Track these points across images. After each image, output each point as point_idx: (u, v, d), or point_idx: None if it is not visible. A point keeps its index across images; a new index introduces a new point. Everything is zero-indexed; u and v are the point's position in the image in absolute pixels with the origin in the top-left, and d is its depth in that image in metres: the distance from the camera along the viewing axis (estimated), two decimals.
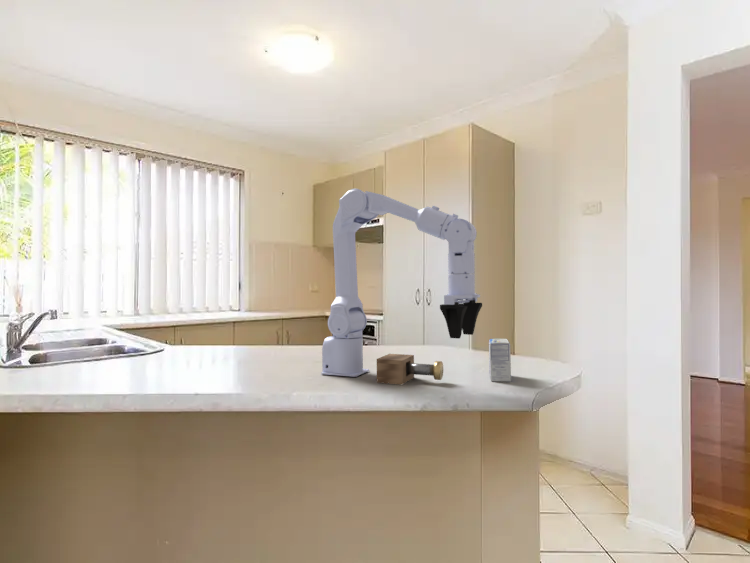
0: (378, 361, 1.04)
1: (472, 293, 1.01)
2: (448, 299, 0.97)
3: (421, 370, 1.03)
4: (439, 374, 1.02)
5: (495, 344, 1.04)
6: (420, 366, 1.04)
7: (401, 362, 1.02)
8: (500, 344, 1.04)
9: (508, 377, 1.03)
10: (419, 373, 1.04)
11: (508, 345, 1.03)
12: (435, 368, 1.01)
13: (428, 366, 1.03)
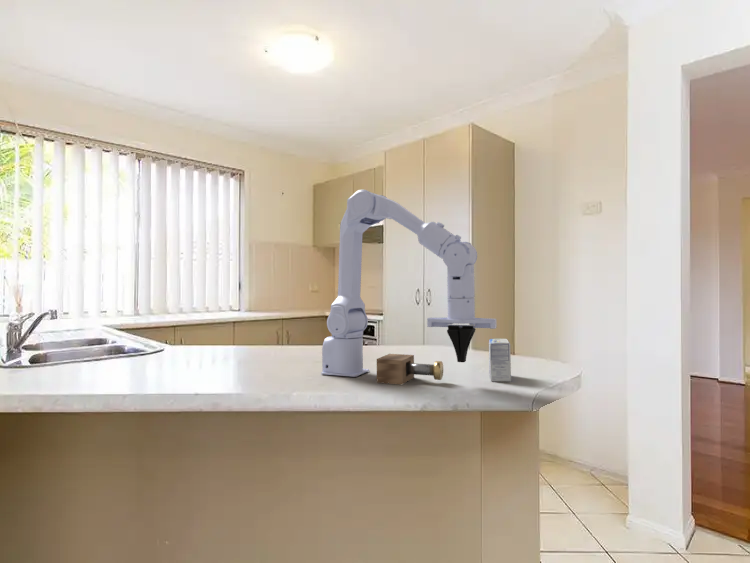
0: (378, 361, 1.04)
1: (454, 318, 0.99)
2: None
3: (421, 370, 1.03)
4: (439, 374, 1.02)
5: (495, 344, 1.04)
6: (420, 366, 1.04)
7: (401, 362, 1.02)
8: (500, 344, 1.04)
9: (508, 377, 1.03)
10: (419, 373, 1.04)
11: (508, 345, 1.03)
12: (435, 368, 1.01)
13: (428, 366, 1.03)
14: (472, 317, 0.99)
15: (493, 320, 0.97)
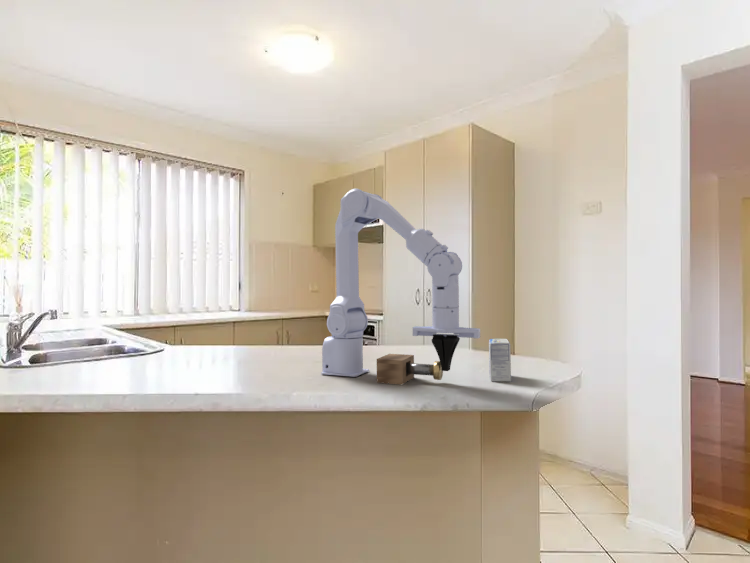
0: (378, 361, 1.04)
1: (439, 327, 1.00)
2: None
3: (421, 370, 1.03)
4: (439, 374, 1.02)
5: (495, 344, 1.04)
6: (420, 366, 1.04)
7: (401, 362, 1.02)
8: (500, 344, 1.04)
9: (508, 377, 1.03)
10: (418, 373, 1.04)
11: (508, 345, 1.03)
12: (435, 368, 1.01)
13: (428, 366, 1.03)
14: (456, 327, 1.00)
15: (476, 330, 0.99)
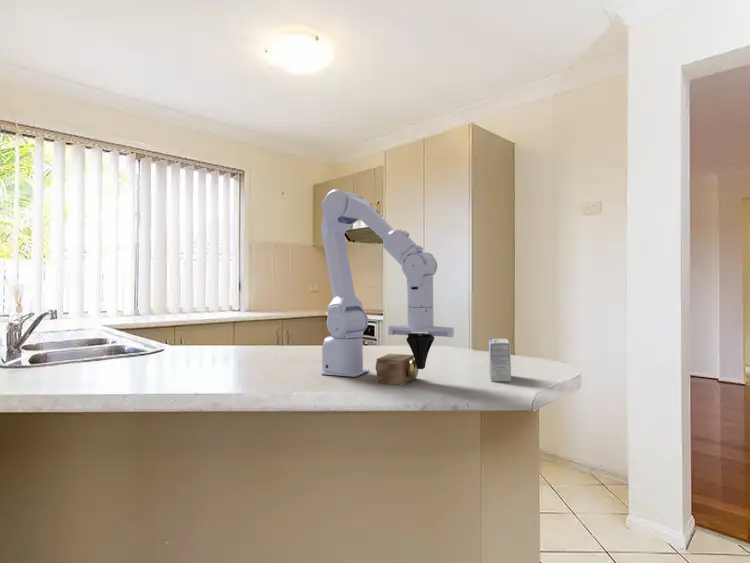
0: (378, 361, 1.04)
1: (413, 326, 1.02)
2: None
3: None
4: (413, 372, 1.04)
5: (495, 344, 1.04)
6: None
7: (401, 362, 1.02)
8: (500, 344, 1.04)
9: (508, 377, 1.03)
10: None
11: (508, 345, 1.03)
12: (410, 366, 1.04)
13: None
14: (430, 326, 1.02)
15: (450, 329, 1.01)
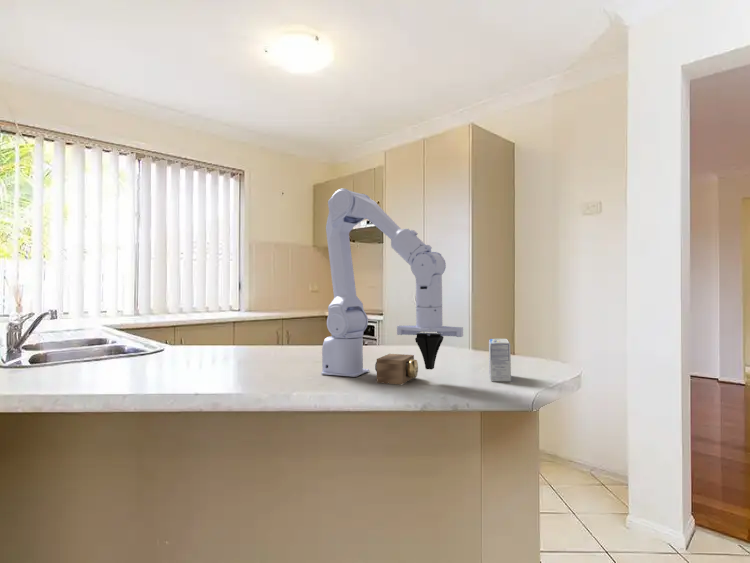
0: (378, 361, 1.04)
1: (422, 326, 1.01)
2: None
3: None
4: (413, 372, 1.04)
5: (495, 344, 1.04)
6: None
7: (401, 362, 1.02)
8: (500, 344, 1.04)
9: (508, 377, 1.03)
10: None
11: (508, 345, 1.03)
12: (409, 366, 1.04)
13: None
14: (439, 325, 1.02)
15: (459, 328, 1.00)
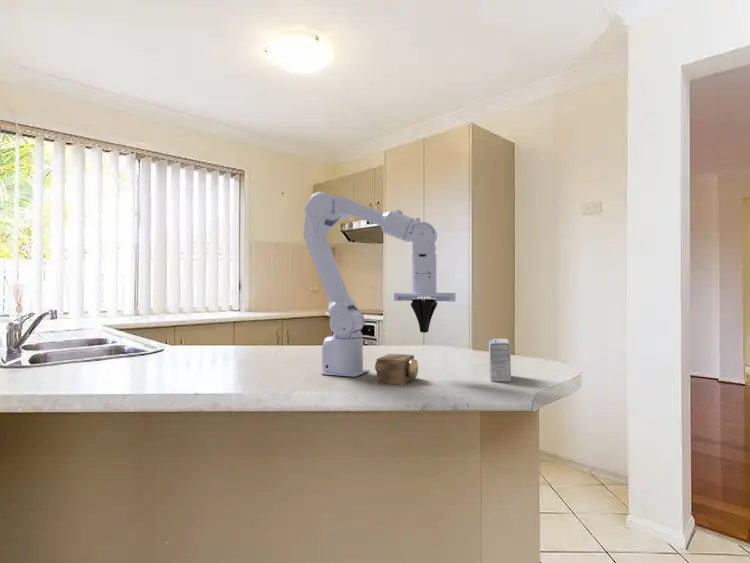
0: (378, 361, 1.04)
1: (417, 292, 1.08)
2: None
3: None
4: (413, 372, 1.04)
5: (495, 344, 1.04)
6: None
7: (401, 362, 1.02)
8: (500, 344, 1.04)
9: (508, 377, 1.03)
10: None
11: (508, 345, 1.03)
12: (409, 366, 1.04)
13: None
14: (433, 291, 1.09)
15: (452, 294, 1.07)
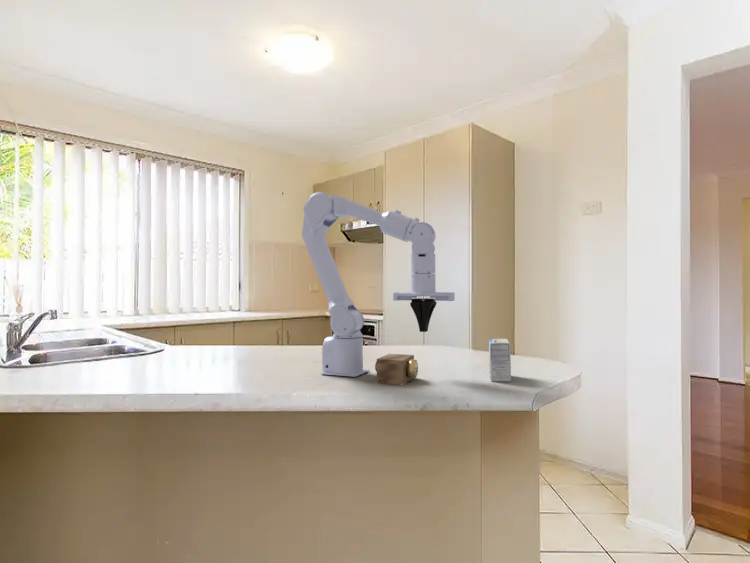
0: (378, 361, 1.04)
1: (416, 291, 1.09)
2: None
3: None
4: (413, 372, 1.04)
5: (495, 344, 1.04)
6: None
7: (401, 362, 1.02)
8: (500, 344, 1.04)
9: (508, 377, 1.03)
10: None
11: (508, 345, 1.03)
12: (409, 366, 1.04)
13: None
14: (432, 291, 1.09)
15: (451, 293, 1.08)
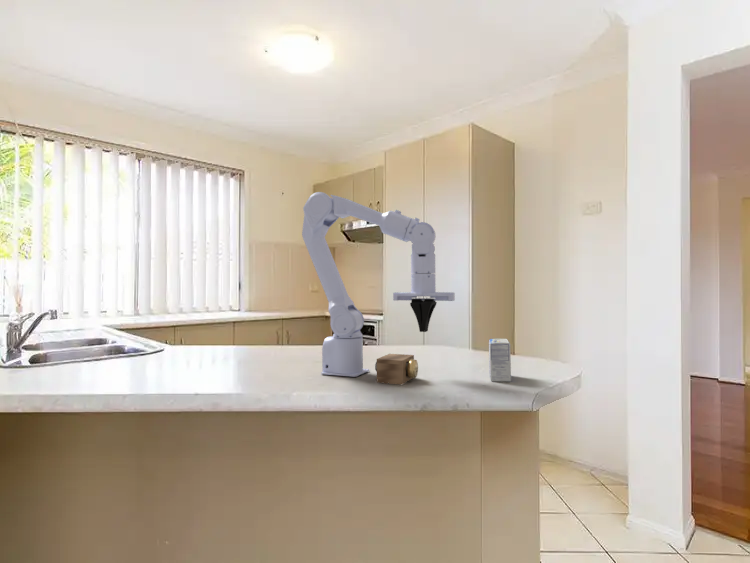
0: (378, 361, 1.04)
1: (416, 291, 1.09)
2: None
3: None
4: (413, 372, 1.04)
5: (495, 344, 1.04)
6: None
7: (401, 362, 1.02)
8: (500, 344, 1.04)
9: (508, 377, 1.03)
10: None
11: (508, 345, 1.03)
12: (409, 366, 1.04)
13: None
14: (432, 291, 1.09)
15: (451, 293, 1.08)
